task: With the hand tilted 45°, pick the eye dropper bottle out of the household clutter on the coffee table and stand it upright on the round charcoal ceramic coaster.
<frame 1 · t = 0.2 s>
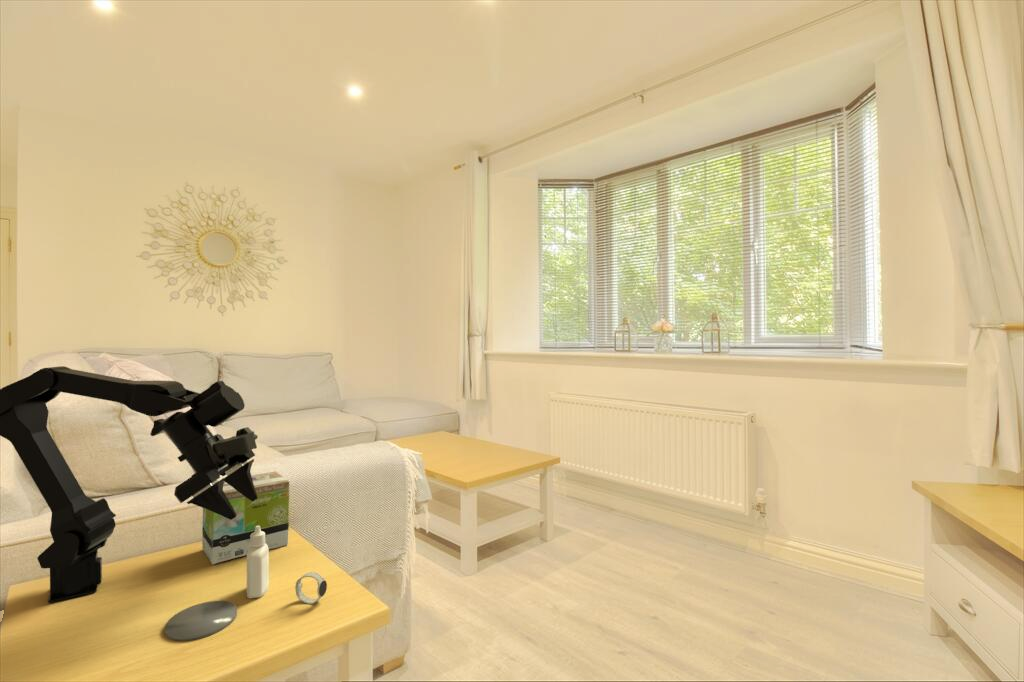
hand: (245, 508, 92), 14 cm above the table, tool tilted 35°, fingers open, 9 cm apart
eye dropper bottle: (257, 592, 90), on the table
wristwatch: (310, 602, 87), on the table
charcoal coaster: (202, 621, 80), on the table
tea box: (246, 548, 107), on the table
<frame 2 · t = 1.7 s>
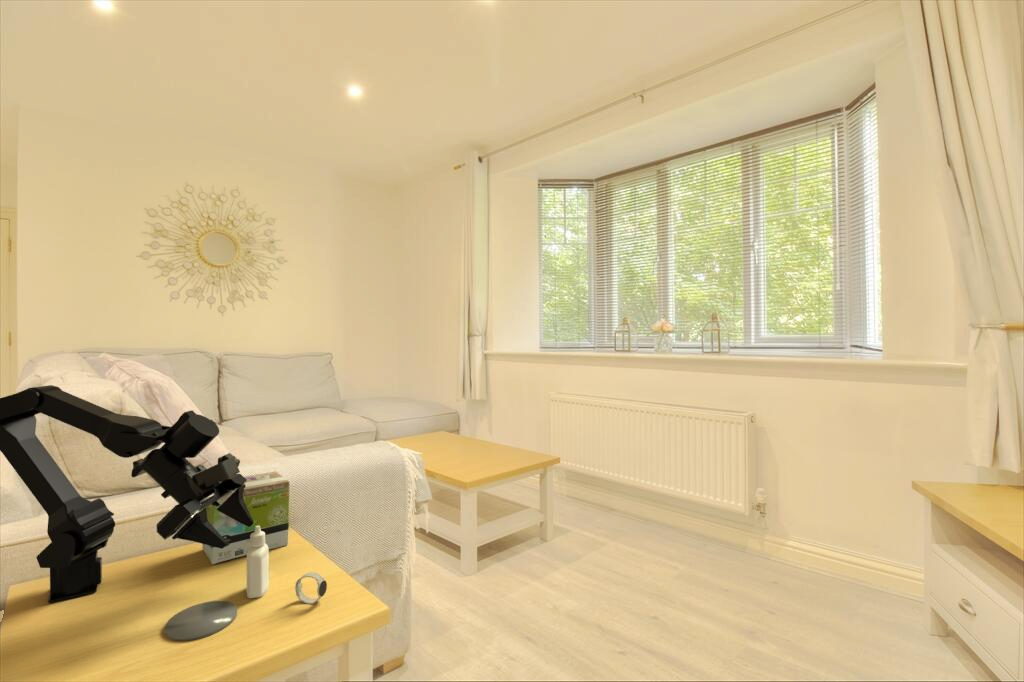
hand: (239, 535, 89), 10 cm above the table, tool tilted 45°, fingers open, 9 cm apart
nothing on the table moved.
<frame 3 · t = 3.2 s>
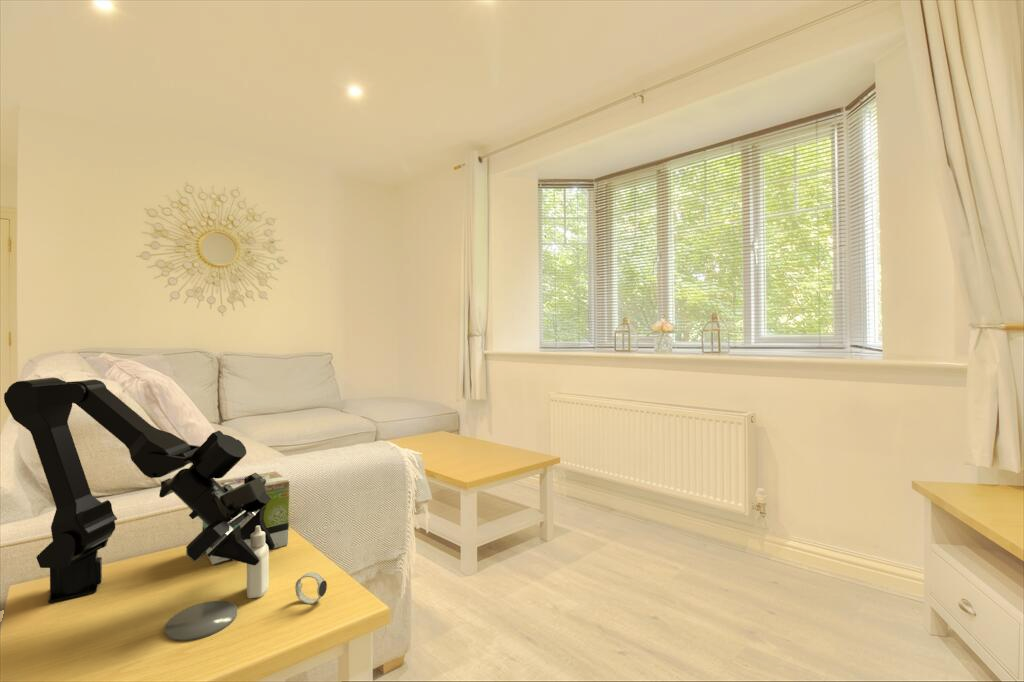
hand: (265, 555, 90), 7 cm above the table, tool tilted 45°, fingers closed on eye dropper bottle, 5 cm apart
eye dropper bottle: (257, 592, 90), on the table, touching gripper
everything else where it was.
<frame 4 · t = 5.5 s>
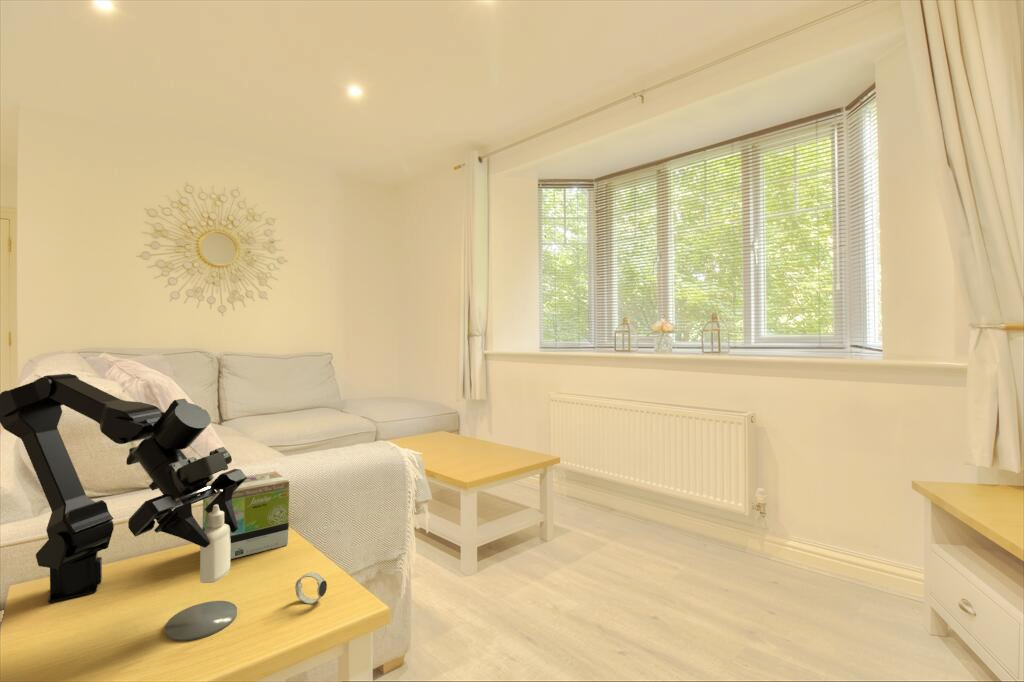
hand: (222, 538, 82), 13 cm above the table, tool tilted 45°, fingers closed on eye dropper bottle, 5 cm apart
eye dropper bottle: (215, 576, 82), point 6 cm above the table, touching gripper
everything else where it was.
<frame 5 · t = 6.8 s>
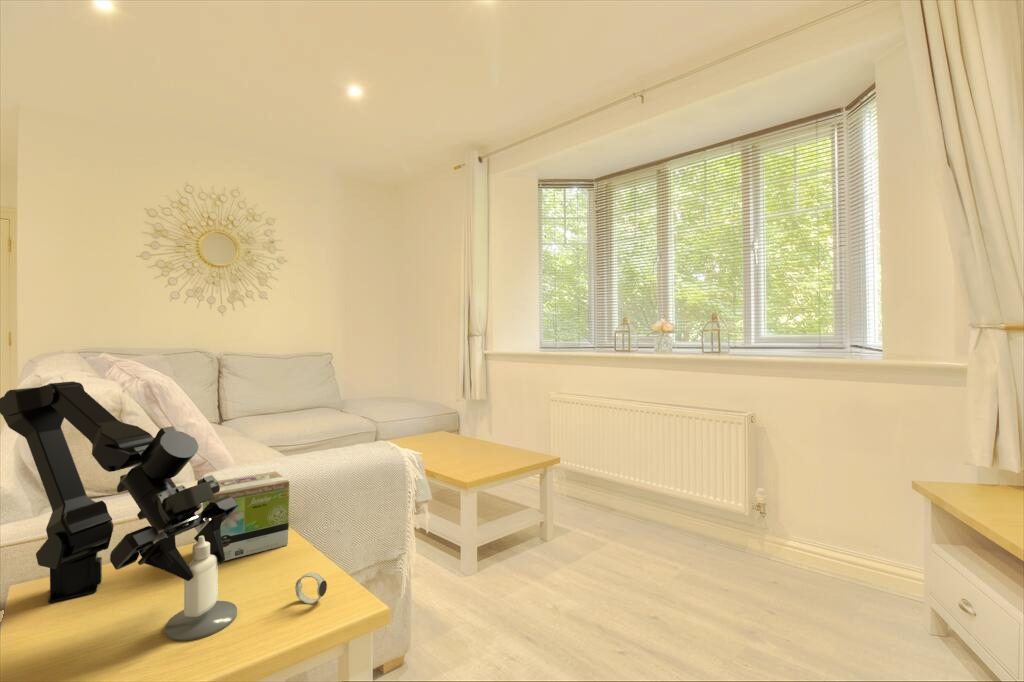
hand: (207, 570, 80), 9 cm above the table, tool tilted 45°, fingers closed on eye dropper bottle, 5 cm apart
eye dropper bottle: (201, 609, 81), point 2 cm above the table, touching gripper
everything else where it was.
when the fingers open (8 cm above the table, at t = 7.8 s): eye dropper bottle stays where it is, resting on charcoal coaster.
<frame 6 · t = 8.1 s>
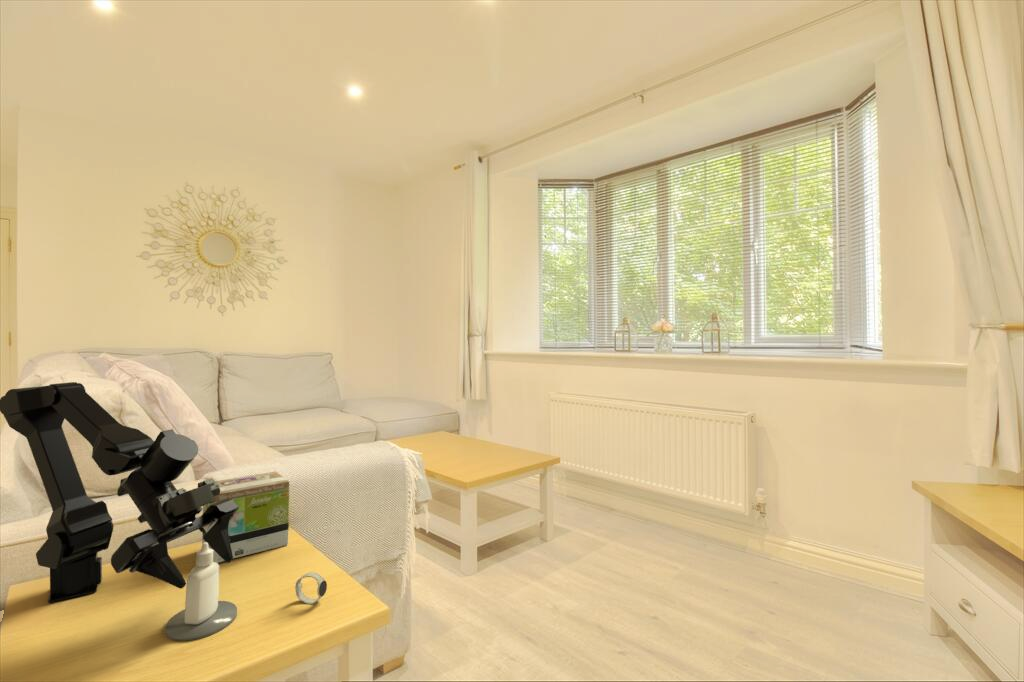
hand: (208, 573, 80), 8 cm above the table, tool tilted 45°, fingers open, 8 cm apart
eye dropper bottle: (201, 617, 81), point 1 cm above the table, touching charcoal coaster
everything else where it was.
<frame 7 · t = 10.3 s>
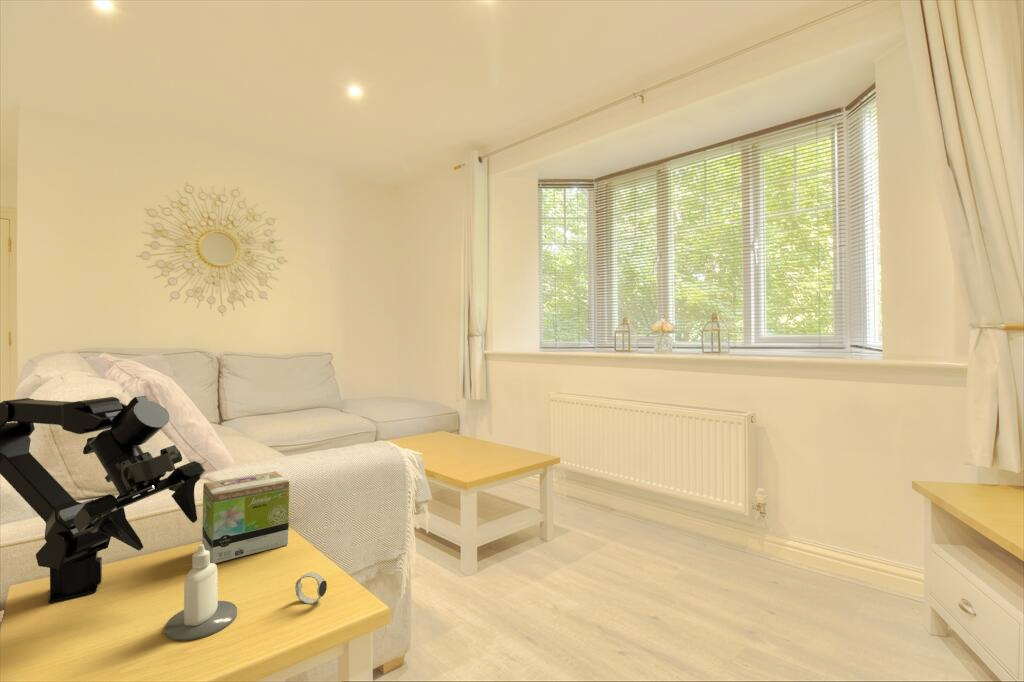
hand: (169, 534, 84), 12 cm above the table, tool tilted 40°, fingers open, 9 cm apart
nothing on the table moved.
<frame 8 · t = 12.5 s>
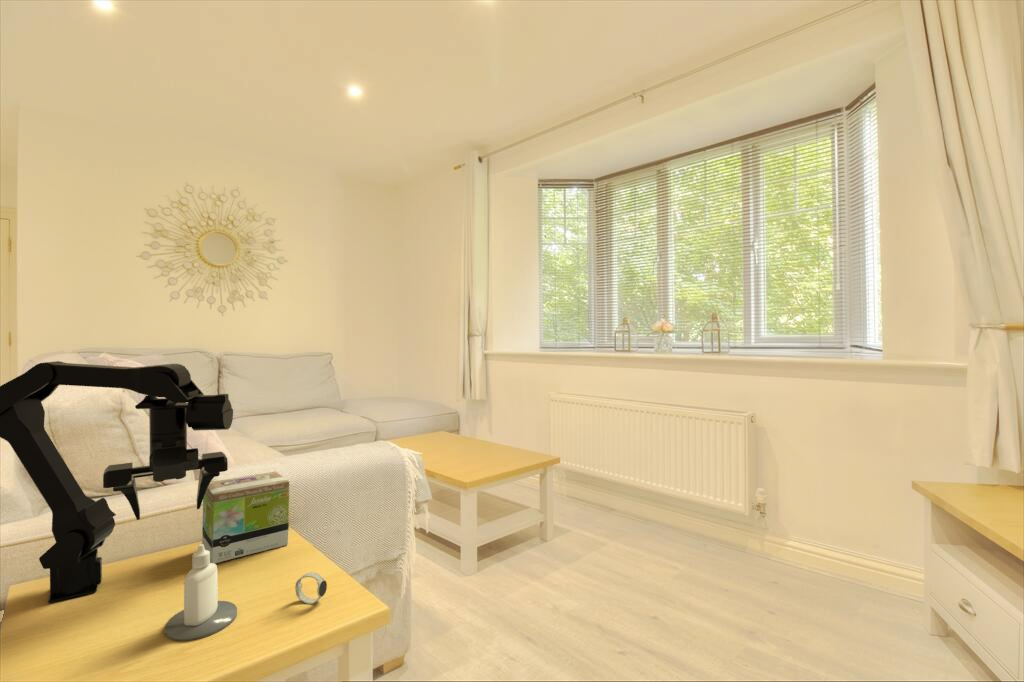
hand: (169, 513, 92), 13 cm above the table, tool pointing down, fingers open, 9 cm apart
nothing on the table moved.
at the end: eye dropper bottle inside the target area on the charcoal coaster (0.3 cm from its centre), point 0.4 cm above the charcoal coaster's base; eye dropper bottle tilted 0°; the gripper is holding nothing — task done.
